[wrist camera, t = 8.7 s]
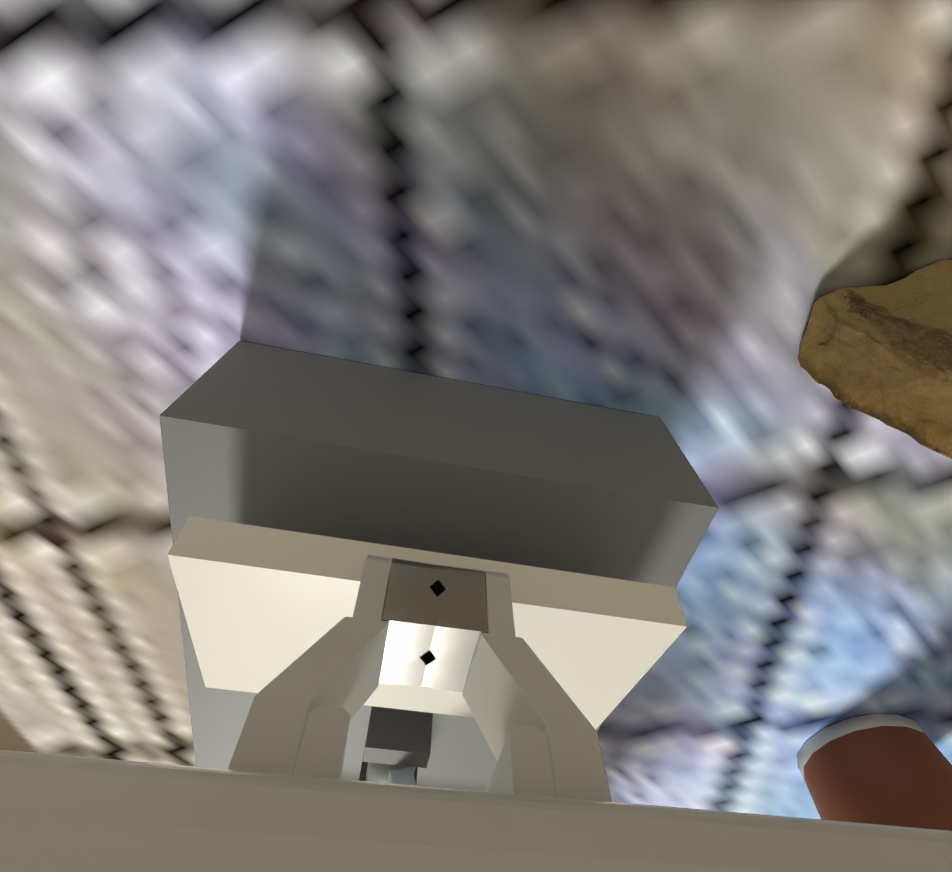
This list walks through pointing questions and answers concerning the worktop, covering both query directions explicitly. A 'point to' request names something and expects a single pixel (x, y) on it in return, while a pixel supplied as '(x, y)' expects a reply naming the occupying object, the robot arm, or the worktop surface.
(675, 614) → the white slab
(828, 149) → the worktop surface
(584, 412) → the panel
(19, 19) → the worktop surface
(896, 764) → the coffee cup
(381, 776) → the paddle
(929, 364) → the rock
